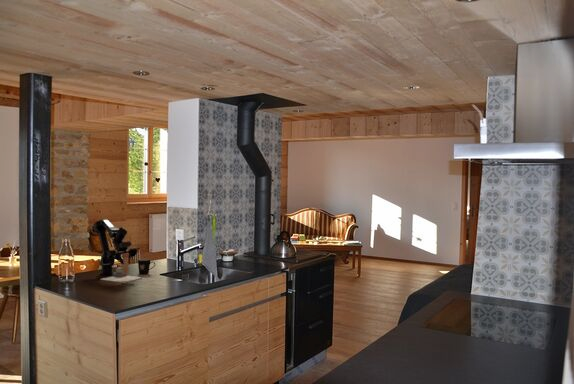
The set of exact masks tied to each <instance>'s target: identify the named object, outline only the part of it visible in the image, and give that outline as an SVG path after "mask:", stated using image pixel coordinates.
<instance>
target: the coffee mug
mask: <svg viewBox="0 0 574 384" xmlns="http://www.w3.org/2000/svg"><path fill="white" fill-rule="evenodd" d="M152 263H153V264H154V265H153V266H152V267H151V266H150V265H151V264H152ZM137 265H138V275H142V276H144V275H149V273H150V270H152V269H153V268H154V267H155V266H156V262H155V261H151V259H150V258H138V259H137ZM150 267H151V268H150Z"/></svg>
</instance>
